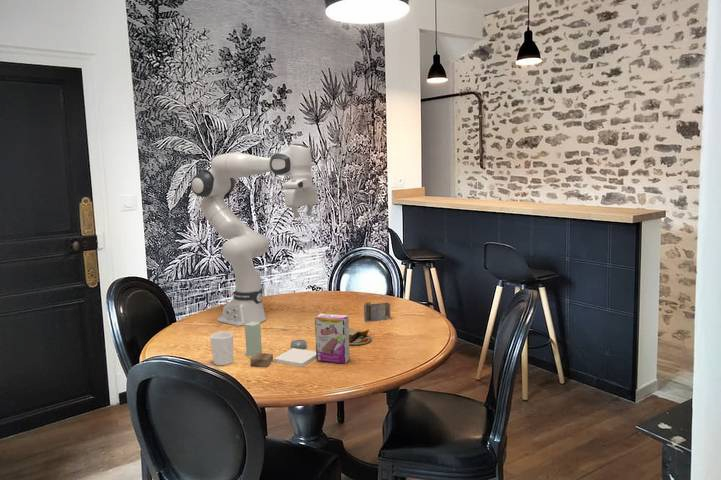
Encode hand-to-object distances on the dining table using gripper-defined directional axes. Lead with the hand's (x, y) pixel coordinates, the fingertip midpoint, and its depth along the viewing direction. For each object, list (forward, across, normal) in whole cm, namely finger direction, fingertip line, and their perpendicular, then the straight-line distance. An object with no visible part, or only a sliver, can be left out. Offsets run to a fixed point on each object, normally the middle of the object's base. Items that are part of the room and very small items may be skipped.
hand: (302, 216), depth 220 cm
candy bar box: (+48, +30, +30) cm, 64 cm away
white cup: (+48, +46, -7) cm, 67 cm away
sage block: (+48, +36, 0) cm, 60 cm away
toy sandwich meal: (+48, +8, +26) cm, 56 cm away
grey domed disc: (+48, +23, +10) cm, 54 cm away
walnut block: (+48, +42, +8) cm, 64 cm away
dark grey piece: (+48, -21, +24) cm, 58 cm away
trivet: (+48, +33, +16) cm, 60 cm away
